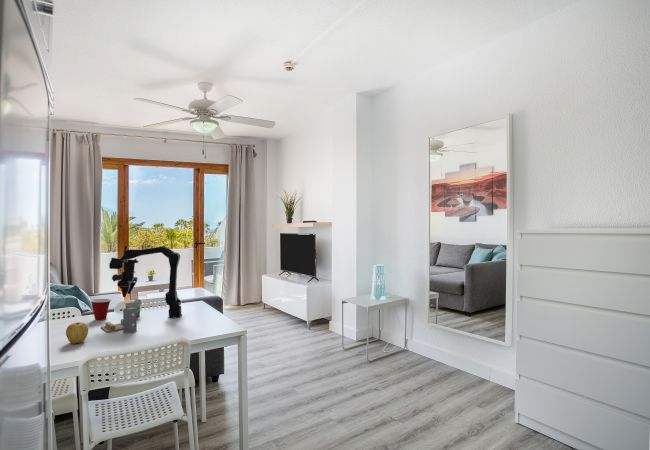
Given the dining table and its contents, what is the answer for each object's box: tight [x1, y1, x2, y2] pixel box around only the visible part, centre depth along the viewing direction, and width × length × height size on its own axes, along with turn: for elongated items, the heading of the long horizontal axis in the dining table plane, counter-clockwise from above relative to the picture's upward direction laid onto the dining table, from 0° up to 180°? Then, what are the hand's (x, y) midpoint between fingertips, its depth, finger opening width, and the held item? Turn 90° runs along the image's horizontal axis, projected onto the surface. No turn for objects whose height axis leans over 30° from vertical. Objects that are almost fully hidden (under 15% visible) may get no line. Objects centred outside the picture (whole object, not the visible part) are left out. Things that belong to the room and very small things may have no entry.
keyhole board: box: [100, 318, 123, 334], centre depth 207 cm, size 14×12×3 cm
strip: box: [122, 307, 138, 334], centre depth 200 cm, size 4×5×13 cm
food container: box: [124, 298, 143, 319], centre depth 229 cm, size 12×6×10 cm, turn 179°
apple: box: [65, 321, 89, 344], centre depth 183 cm, size 9×9×10 cm
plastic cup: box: [90, 298, 112, 322], centre depth 225 cm, size 11×11×12 cm
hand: (126, 295), depth 225 cm, fingers open, 9 cm apart
